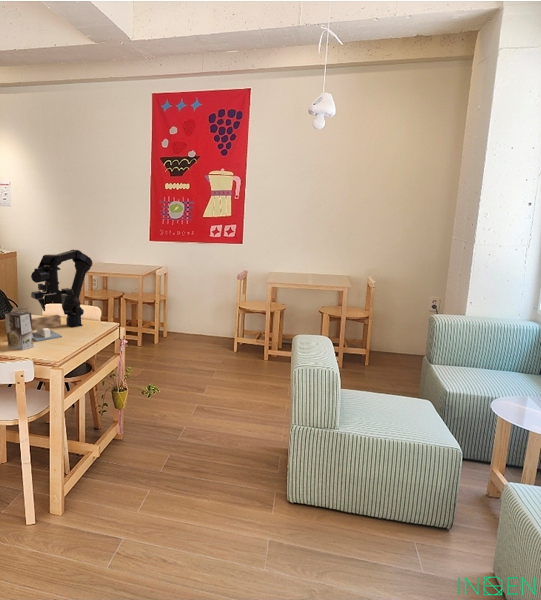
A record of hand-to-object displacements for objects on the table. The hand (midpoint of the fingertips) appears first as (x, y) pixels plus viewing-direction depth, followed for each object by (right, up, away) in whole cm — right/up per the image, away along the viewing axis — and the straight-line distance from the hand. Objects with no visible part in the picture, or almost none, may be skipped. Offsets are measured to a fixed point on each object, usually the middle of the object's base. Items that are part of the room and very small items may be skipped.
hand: (53, 309), depth 225 cm
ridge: (-2, -13, -5) cm, 14 cm away
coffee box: (-4, -17, -23) cm, 28 cm away
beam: (-2, -9, -6) cm, 11 cm away
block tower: (-23, -10, +9) cm, 27 cm away
